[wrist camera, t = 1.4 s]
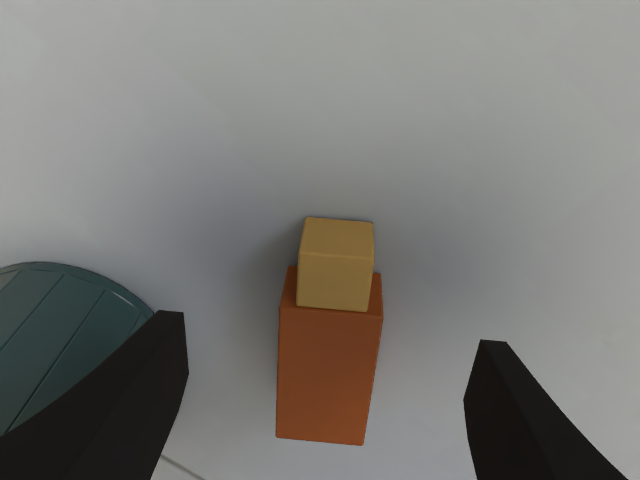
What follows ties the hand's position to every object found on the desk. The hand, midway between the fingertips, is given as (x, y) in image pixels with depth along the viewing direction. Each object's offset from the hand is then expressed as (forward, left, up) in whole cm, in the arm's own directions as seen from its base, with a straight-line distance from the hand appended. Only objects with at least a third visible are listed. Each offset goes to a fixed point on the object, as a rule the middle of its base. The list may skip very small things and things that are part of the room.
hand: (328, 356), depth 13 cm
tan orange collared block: (-3, 0, -5) cm, 6 cm away
